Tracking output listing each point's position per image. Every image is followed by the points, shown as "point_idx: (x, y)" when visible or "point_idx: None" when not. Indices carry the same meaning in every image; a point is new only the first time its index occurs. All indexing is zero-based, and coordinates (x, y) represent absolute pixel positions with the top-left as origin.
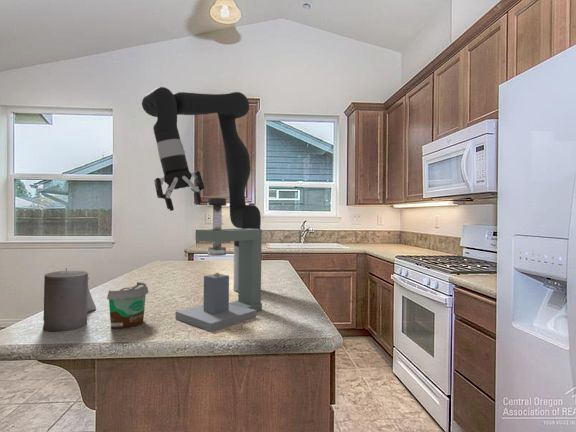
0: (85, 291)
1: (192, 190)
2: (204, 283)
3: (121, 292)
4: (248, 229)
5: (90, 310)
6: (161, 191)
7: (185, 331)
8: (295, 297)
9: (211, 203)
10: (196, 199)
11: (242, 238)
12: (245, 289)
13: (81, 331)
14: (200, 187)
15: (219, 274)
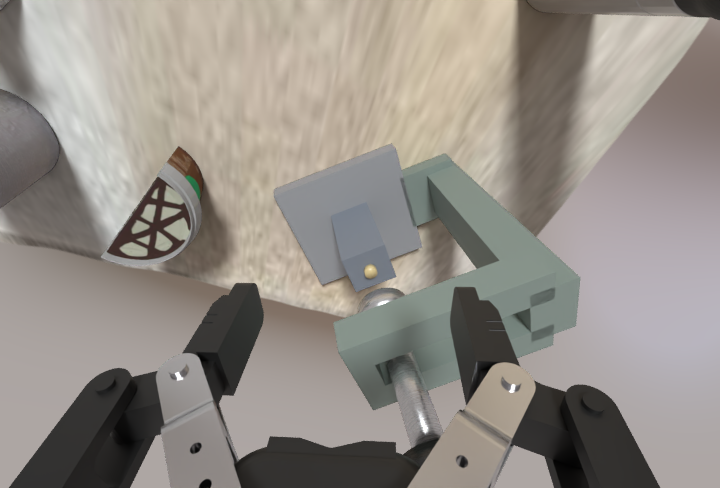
0: (8, 187)
1: (475, 400)
2: (339, 251)
3: (137, 263)
4: (518, 343)
5: (4, 3)
6: (126, 475)
7: (282, 262)
8: (582, 140)
9: None
10: (457, 341)
11: None
12: (443, 211)
13: (73, 195)
14: (546, 451)
15: (383, 256)
